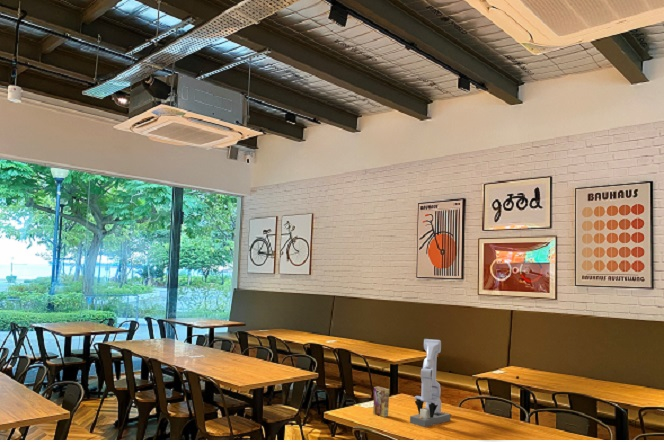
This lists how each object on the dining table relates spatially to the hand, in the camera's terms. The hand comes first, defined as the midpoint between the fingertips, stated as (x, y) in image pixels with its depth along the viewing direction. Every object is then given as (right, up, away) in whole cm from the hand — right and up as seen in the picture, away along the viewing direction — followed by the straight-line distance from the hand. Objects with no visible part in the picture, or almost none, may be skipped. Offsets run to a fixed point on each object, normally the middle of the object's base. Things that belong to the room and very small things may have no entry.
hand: (425, 415), depth 286 cm
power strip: (+3, -5, +4) cm, 7 cm away
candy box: (-24, -5, +13) cm, 28 cm away
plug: (0, -3, 0) cm, 3 cm away
